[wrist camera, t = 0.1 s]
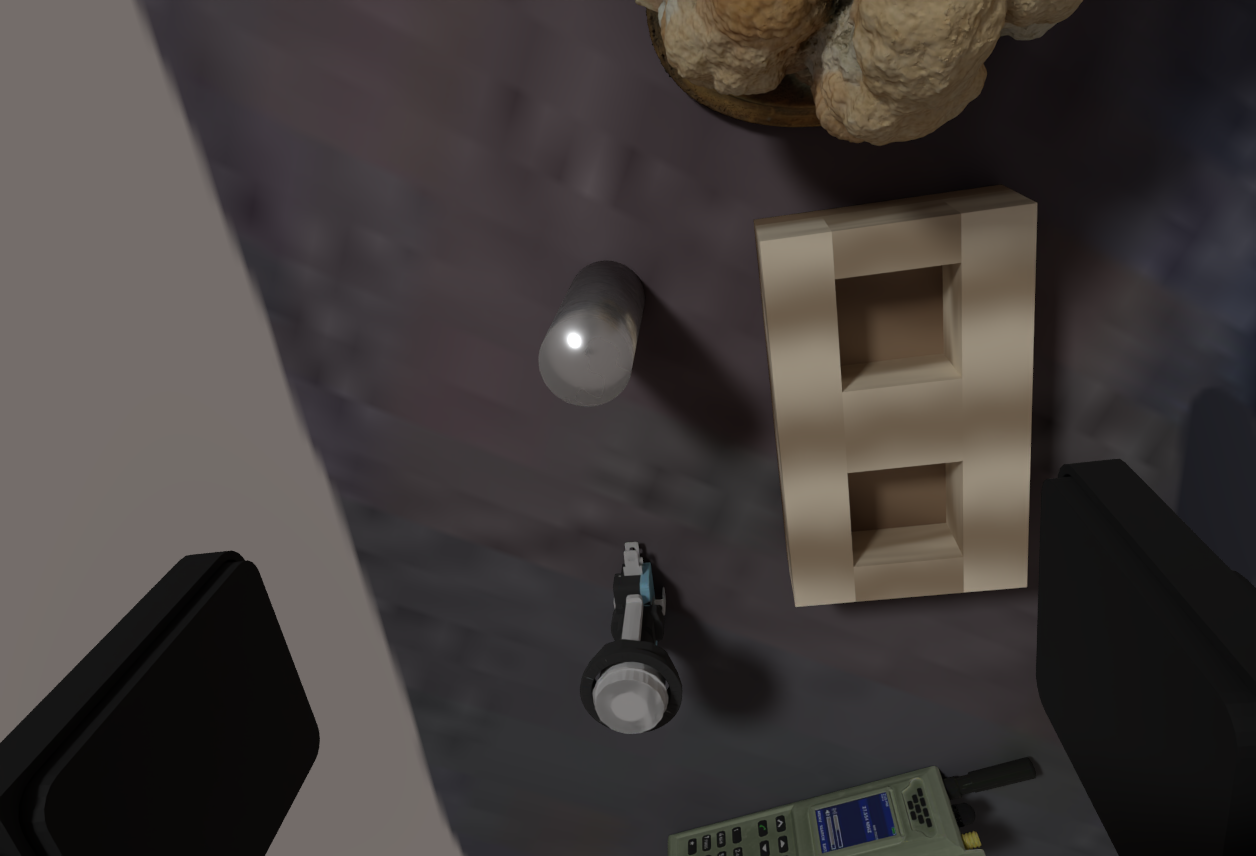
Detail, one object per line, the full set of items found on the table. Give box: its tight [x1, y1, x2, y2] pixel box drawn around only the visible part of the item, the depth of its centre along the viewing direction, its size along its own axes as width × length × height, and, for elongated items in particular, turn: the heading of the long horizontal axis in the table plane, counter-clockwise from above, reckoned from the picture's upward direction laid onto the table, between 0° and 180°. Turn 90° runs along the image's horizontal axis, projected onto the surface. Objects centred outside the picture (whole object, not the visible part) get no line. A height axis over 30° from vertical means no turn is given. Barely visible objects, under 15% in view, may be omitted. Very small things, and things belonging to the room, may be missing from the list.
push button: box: [580, 542, 682, 734], centre depth 50 cm, size 7×5×10 cm
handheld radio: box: [668, 757, 1036, 856], centre depth 57 cm, size 7×3×25 cm
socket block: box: [754, 184, 1037, 607], centre depth 46 cm, size 20×12×5 cm, turn 9°
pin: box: [539, 261, 645, 407], centre depth 42 cm, size 4×4×10 cm
